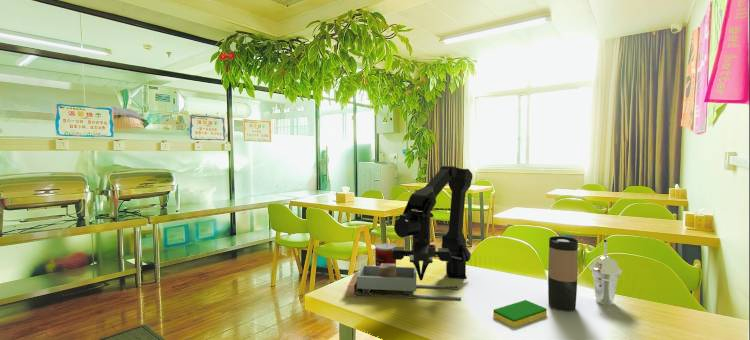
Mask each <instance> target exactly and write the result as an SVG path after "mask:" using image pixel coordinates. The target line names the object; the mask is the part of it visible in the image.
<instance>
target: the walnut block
mask: <svg viewBox="0 0 750 340" xmlns="http://www.w3.org/2000/svg"><path fill="white" fill-rule="evenodd" d="M396 267H397V263H396V264H388V263H381V265H380V268H379V277H396Z"/></svg>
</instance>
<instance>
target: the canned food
mask: <svg viewBox="0 0 750 340" xmlns="http://www.w3.org/2000/svg"><path fill="white" fill-rule="evenodd" d="M394 247H397V246H396V245H395V244H393V243H380V244H379V243H378V244H376V245H375V247H374V248H375V249H374V250H375V253H374V254H375V259H374V260H375V262H374V263H375V265H374V266H380V265H381V263H388V264H396V265H397V260H393V259H392V249H393V248H394Z"/></svg>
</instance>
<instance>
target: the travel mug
mask: <svg viewBox="0 0 750 340" xmlns="http://www.w3.org/2000/svg"><path fill="white" fill-rule="evenodd" d="M548 241H549V242H548V270H547V271H548V272H547V286H548V287H547V288H548V289H547V290H548V291H547V293H548V295H547V296H548V298H547V299H548V306H549V307H550V308H551V309H554V310H557V311H560V312H574V311H576V308H577V307H576V306H577V293H578V292H577V291H578V266H579V265H578V262H579V261H578V259H579V257H578V256H579V255H578V254H579V241H578V239H576V238H573V237H568V236H558V235H557V236H550V237H549V239H548Z"/></svg>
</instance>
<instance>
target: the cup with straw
mask: <svg viewBox="0 0 750 340" xmlns="http://www.w3.org/2000/svg"><path fill="white" fill-rule="evenodd" d="M607 249H608V240H607V239H603V255H602V256H598V257H595V259H593V261H592V263H590V264H589V266H588V268H589V270H591V275H592V278H593V288H594V289H593V290H594V296H595V301H596V303H598V304H601V305H607V306H609V305H613V304H614V300H615V297H616V296H615V294H616V289H617V283H618V281H619V276H620V275H621V274H622V273H623V272H622V271H623V269H622V268H621V267H619V264H618V262H617V261H616V260H615V259H614V258H611V256H607V255H608V253H607V252H608V250H607Z"/></svg>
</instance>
